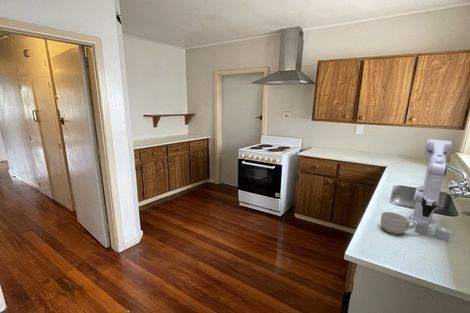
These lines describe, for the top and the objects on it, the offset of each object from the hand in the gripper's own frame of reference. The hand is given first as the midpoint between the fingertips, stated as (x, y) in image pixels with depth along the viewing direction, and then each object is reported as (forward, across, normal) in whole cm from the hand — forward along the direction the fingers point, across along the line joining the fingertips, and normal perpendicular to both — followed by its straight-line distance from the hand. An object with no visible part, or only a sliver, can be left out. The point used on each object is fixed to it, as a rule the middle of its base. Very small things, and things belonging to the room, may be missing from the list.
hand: (425, 214), depth 109 cm
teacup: (+10, +9, -10) cm, 16 cm away
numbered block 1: (+10, 0, +7) cm, 12 cm away
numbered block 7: (+10, 0, -7) cm, 12 cm away
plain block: (+10, 0, 0) cm, 10 cm away
